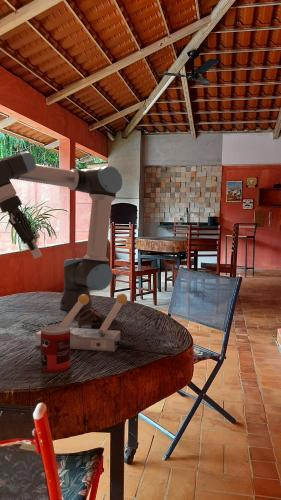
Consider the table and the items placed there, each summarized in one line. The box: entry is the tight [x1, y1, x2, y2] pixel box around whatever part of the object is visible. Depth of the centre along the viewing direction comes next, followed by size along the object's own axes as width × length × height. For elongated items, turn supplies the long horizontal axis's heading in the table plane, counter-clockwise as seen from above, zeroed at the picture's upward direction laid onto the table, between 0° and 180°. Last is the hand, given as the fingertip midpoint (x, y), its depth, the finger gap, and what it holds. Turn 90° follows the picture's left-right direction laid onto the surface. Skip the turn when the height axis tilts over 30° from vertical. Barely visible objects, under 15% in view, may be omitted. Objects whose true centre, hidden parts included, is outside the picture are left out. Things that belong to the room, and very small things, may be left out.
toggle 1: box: [59, 294, 89, 327], centre depth 124 cm, size 4×4×15 cm
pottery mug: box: [76, 308, 104, 328], centre depth 144 cm, size 12×10×8 cm
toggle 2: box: [98, 293, 128, 335], centre depth 122 cm, size 4×4×15 cm
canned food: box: [40, 324, 71, 373], centre depth 104 cm, size 8×8×11 cm
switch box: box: [35, 327, 137, 353], centre depth 123 cm, size 10×32×4 cm, turn 81°
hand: (38, 256), depth 140 cm, fingers closed
